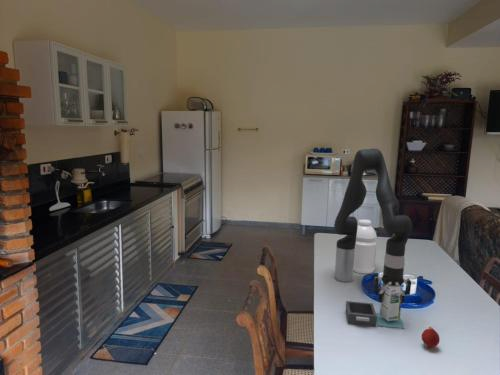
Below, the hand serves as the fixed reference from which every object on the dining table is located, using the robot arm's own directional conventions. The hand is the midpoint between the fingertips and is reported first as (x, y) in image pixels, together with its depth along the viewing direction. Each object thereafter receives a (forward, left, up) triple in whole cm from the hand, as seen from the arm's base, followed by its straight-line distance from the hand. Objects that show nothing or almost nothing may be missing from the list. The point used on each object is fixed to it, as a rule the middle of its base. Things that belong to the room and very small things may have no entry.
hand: (390, 302), depth 150 cm
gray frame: (0, -11, -8) cm, 14 cm away
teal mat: (0, 0, -8) cm, 8 cm away
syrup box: (0, 0, -7) cm, 7 cm away
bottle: (-55, -4, -9) cm, 56 cm away
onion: (+16, +11, -8) cm, 21 cm away
